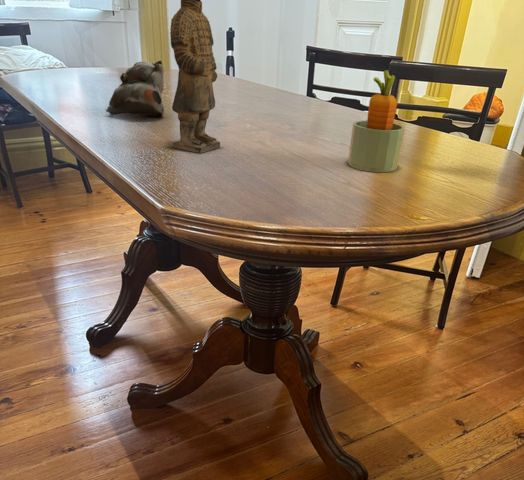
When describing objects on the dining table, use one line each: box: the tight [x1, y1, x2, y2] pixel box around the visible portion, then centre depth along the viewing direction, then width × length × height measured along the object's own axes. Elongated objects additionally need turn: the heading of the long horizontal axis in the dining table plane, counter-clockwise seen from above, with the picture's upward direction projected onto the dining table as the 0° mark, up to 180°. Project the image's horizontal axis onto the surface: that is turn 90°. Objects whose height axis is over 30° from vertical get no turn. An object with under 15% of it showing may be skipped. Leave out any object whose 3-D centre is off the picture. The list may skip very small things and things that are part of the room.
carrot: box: [366, 69, 398, 130], centre depth 91 cm, size 5×5×15 cm
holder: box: [347, 120, 406, 173], centre depth 94 cm, size 9×9×7 cm
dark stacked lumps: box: [105, 60, 165, 118], centre depth 122 cm, size 15×12×14 cm
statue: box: [169, 0, 221, 154], centre depth 92 cm, size 10×8×30 cm
